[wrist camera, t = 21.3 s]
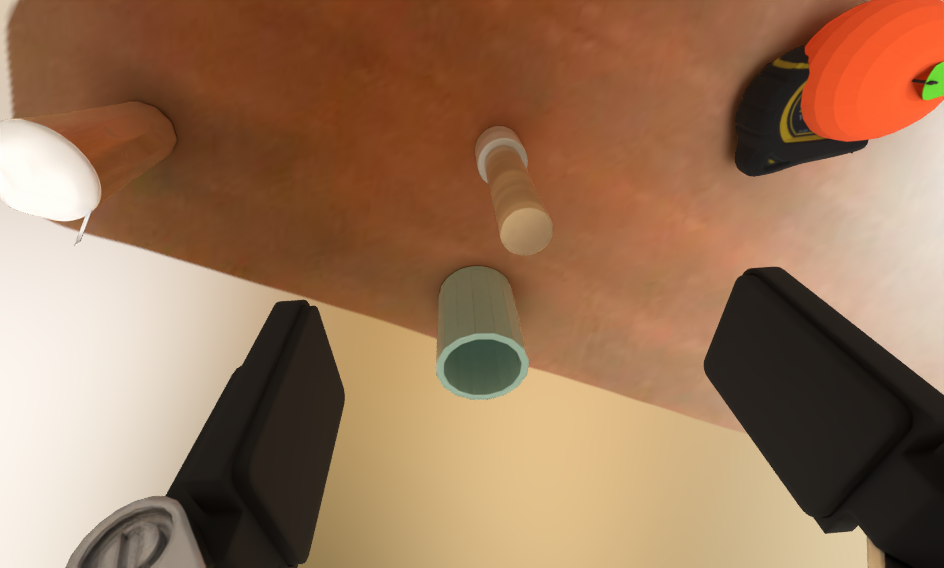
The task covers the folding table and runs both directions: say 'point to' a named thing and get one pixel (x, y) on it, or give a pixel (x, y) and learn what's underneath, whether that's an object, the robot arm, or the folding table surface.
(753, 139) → the tape measure
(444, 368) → the cup
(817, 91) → the clementine
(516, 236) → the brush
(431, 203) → the folding table surface
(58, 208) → the milkshake
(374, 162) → the folding table surface
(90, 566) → the robot arm
